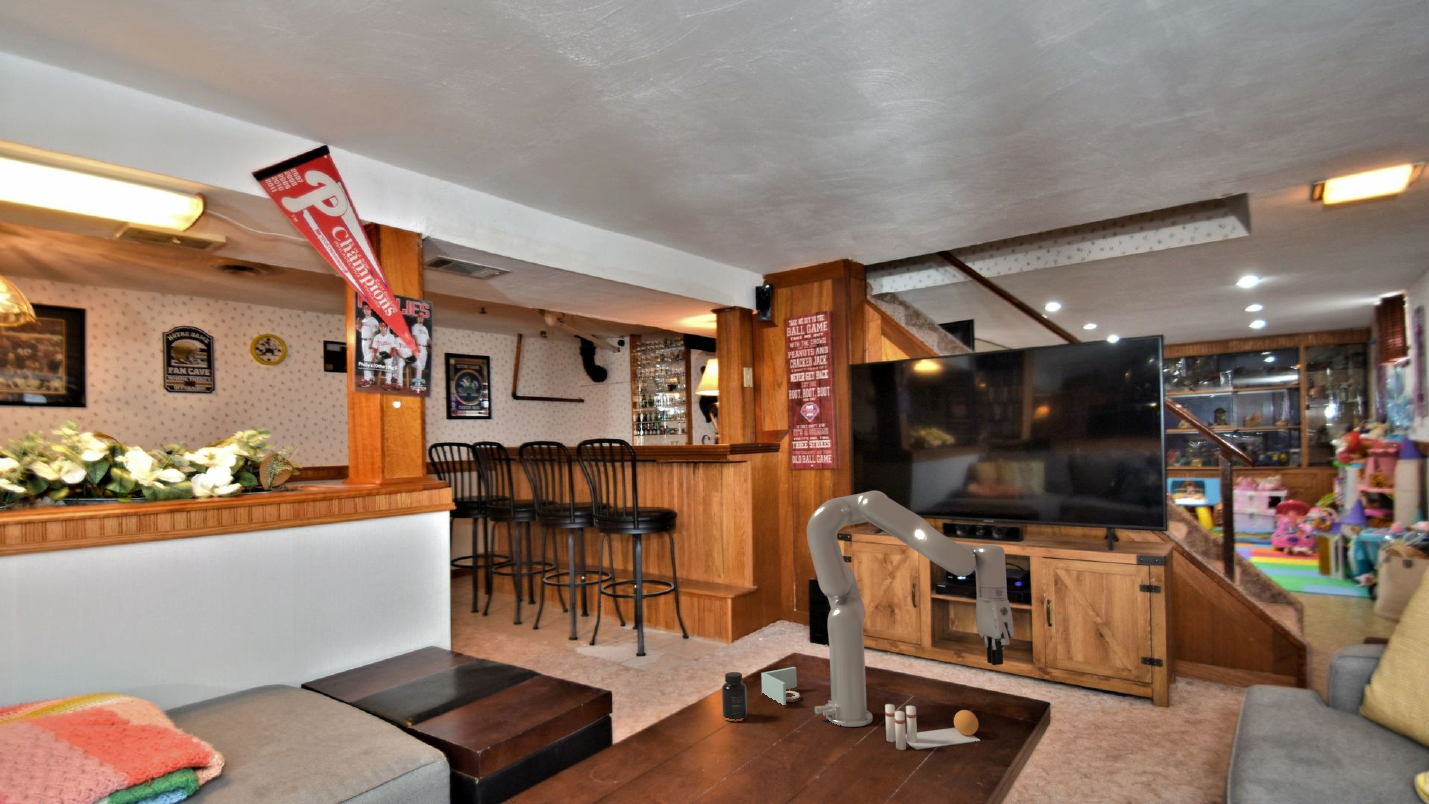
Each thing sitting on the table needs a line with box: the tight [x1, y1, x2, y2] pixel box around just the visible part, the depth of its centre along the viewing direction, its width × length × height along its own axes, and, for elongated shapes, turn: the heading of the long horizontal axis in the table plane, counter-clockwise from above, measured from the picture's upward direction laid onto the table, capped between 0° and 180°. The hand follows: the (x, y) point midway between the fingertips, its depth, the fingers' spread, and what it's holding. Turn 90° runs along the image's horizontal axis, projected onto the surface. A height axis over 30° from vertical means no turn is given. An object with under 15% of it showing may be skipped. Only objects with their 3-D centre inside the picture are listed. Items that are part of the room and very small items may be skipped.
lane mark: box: [905, 727, 981, 750], centre depth 181 cm, size 18×9×1 cm, turn 104°
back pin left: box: [884, 703, 896, 743], centre depth 181 cm, size 2×2×8 cm
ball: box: [953, 709, 979, 736], centre depth 183 cm, size 6×6×6 cm
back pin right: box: [895, 710, 907, 751], centre depth 176 cm, size 2×2×8 cm
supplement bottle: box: [721, 671, 748, 720], centre depth 198 cm, size 7×7×12 cm
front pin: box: [905, 705, 918, 743], centre depth 179 cm, size 2×2×8 cm
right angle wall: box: [760, 666, 801, 706], centre depth 213 cm, size 12×12×8 cm
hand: (995, 663), depth 186 cm, fingers closed
